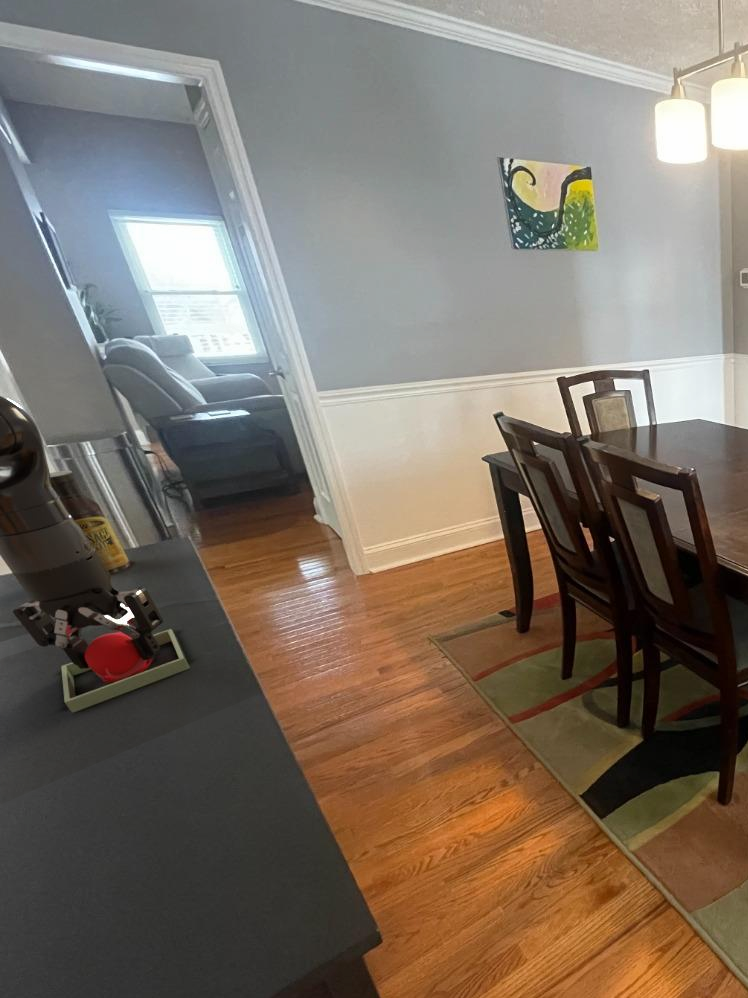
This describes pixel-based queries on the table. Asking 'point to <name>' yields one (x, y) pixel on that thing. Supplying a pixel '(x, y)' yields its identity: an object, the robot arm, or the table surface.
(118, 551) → the sauce bottle
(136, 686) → the frame
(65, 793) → the table surface
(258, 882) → the table surface
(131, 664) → the cap
